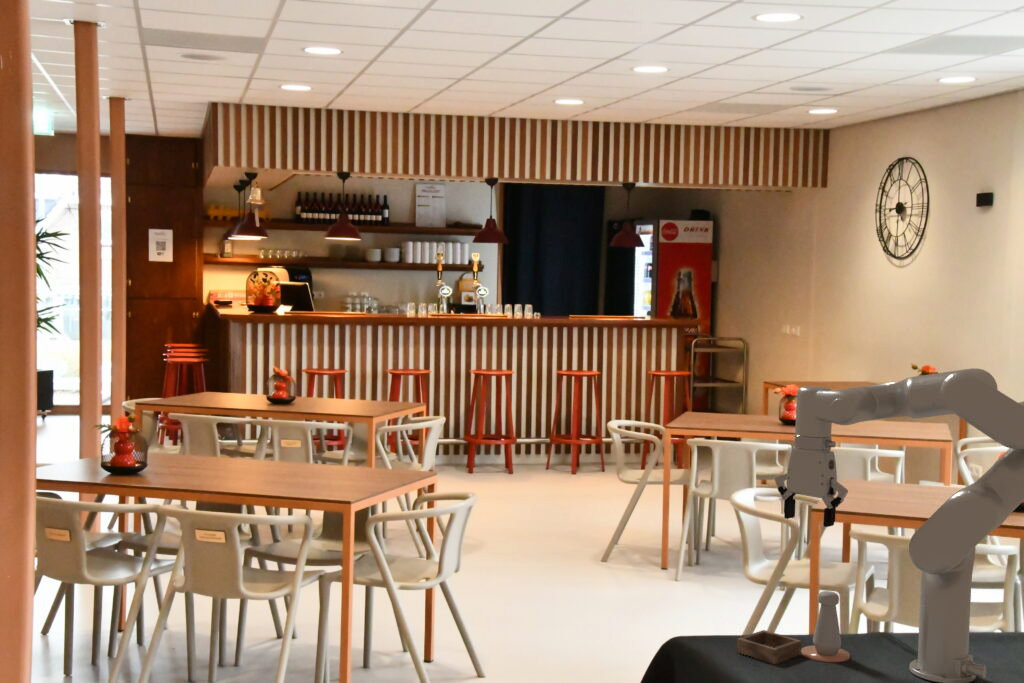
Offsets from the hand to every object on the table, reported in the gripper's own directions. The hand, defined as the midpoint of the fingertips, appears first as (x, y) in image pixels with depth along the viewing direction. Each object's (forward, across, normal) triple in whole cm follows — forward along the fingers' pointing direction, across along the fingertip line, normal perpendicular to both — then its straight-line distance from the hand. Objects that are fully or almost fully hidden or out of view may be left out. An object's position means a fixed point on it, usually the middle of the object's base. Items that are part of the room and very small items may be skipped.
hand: (808, 521), depth 247 cm
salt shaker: (+27, -7, +3) cm, 28 cm away
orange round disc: (+27, -7, +3) cm, 28 cm away
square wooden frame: (+27, +1, +11) cm, 29 cm away
